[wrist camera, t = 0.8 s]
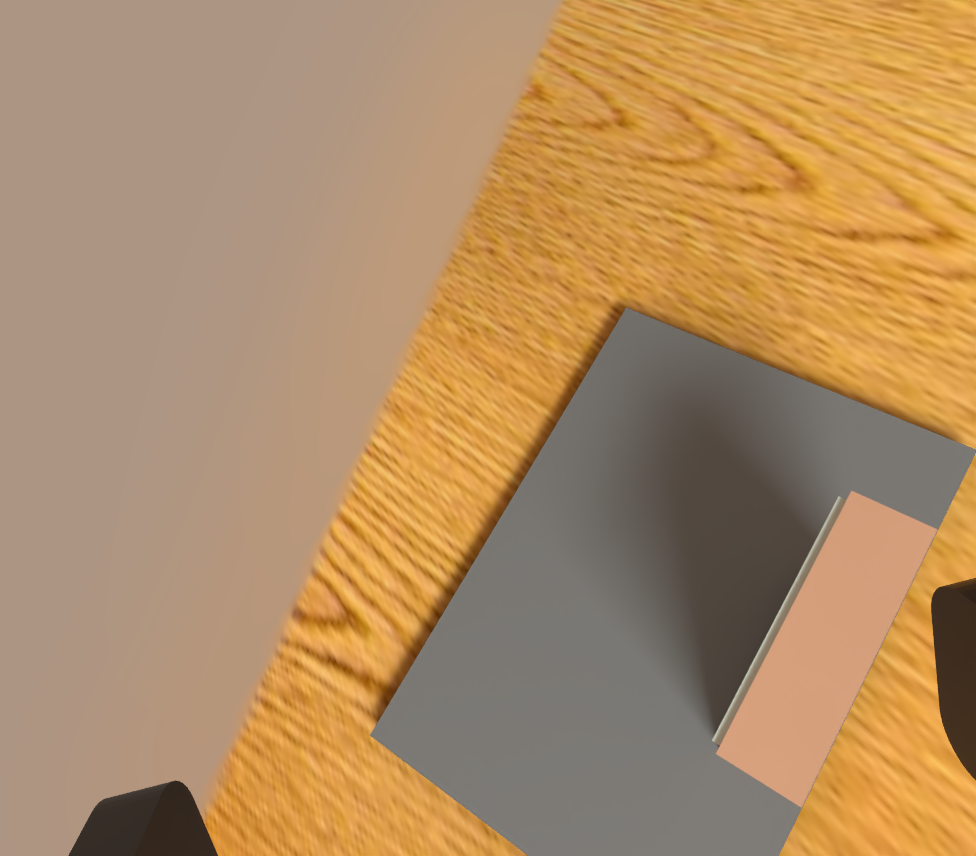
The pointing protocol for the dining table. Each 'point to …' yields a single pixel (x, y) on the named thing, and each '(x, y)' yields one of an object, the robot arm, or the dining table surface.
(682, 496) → the mat
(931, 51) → the dining table surface
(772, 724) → the tile
